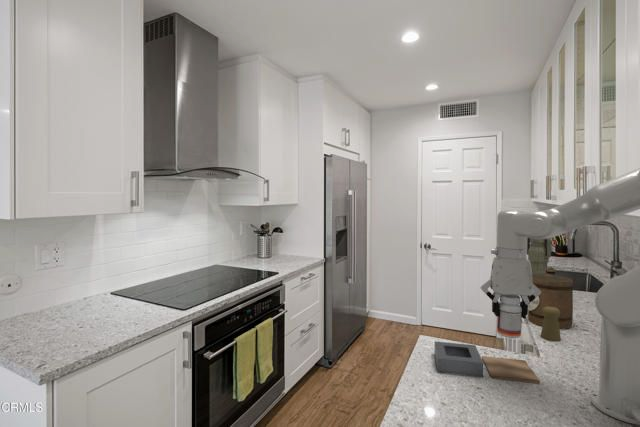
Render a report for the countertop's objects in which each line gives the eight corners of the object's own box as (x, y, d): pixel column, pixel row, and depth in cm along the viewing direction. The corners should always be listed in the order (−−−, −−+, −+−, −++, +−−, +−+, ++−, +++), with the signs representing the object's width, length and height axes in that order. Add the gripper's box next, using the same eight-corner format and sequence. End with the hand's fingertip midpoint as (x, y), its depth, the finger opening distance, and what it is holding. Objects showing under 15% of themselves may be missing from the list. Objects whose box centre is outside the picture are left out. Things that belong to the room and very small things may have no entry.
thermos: (545, 299, 170) (547, 228, 168) (520, 293, 180) (522, 226, 178) (554, 296, 174) (556, 227, 173) (530, 291, 184) (532, 225, 183)
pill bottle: (500, 328, 104) (501, 291, 103) (523, 334, 100) (524, 295, 99) (494, 334, 99) (495, 296, 99) (518, 340, 95) (519, 300, 95)
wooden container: (529, 313, 148) (530, 263, 147) (571, 320, 140) (573, 266, 139) (526, 324, 136) (528, 269, 135) (573, 332, 128) (575, 273, 127)
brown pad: (539, 383, 92) (539, 380, 92) (491, 378, 95) (491, 375, 95) (524, 362, 104) (525, 360, 104) (481, 358, 107) (481, 356, 107)
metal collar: (483, 377, 96) (483, 363, 96) (437, 371, 99) (437, 358, 99) (474, 357, 107) (475, 345, 107) (434, 353, 110) (434, 341, 110)
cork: (564, 342, 119) (565, 310, 119) (544, 340, 120) (545, 309, 120) (556, 335, 125) (556, 305, 124) (537, 334, 126) (538, 304, 126)
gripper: (481, 254, 97) (479, 317, 98) (550, 257, 93) (548, 323, 93) (475, 250, 104) (474, 309, 105) (540, 253, 100) (538, 314, 101)
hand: (509, 315), depth 99 cm, fingers closed on pill bottle, 6 cm apart
